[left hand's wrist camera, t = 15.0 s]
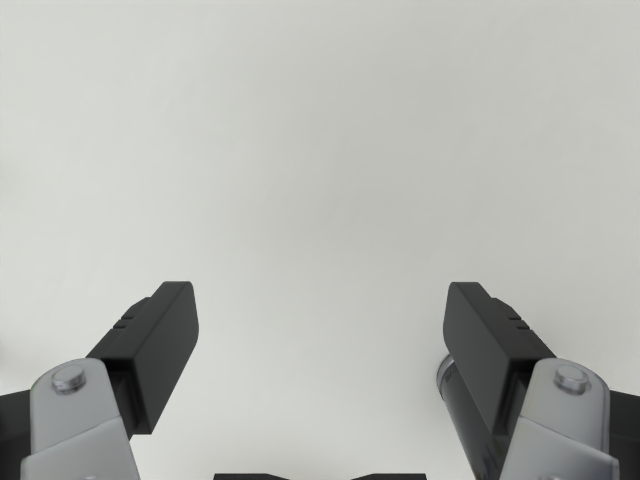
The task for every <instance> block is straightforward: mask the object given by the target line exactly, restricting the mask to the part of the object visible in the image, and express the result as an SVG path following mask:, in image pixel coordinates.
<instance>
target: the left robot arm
mask: <svg viewBox="0 0 640 480" xmlns="http://www.w3.org/2000/svg"><path fill="white" fill-rule="evenodd" d="M198 333H199V324H198V317H197V310H196V303H195V297H194V290H193V286H192V284H191V282H189V281H166V282H163V283H162V284H161V286H160V287H159V288H158V289H157V290H156V292H155V293H154V294H153V295H152V296H151V297H146V298H144V299H142V300H141V301H139V302H137V303H136V304H134V305H133V306H131V307H130V308H129V309H128V310H127V311H126V313H125V314H124V315H123V316H122V317H121V320H118V321H117V323H116V324H115V325H114V326H113V329H110V330H109V332H108V333H107V334H106V335H105V336H104V337H103V338H102V339H101V340H100V342H99V343H98V344H97V345H96V346H95V347H94V348H93V349H92V351H91V352H90V353H89V354H88V355H87V356H86V357H85V358H82V359H76V360H72V361H69V362H66V363H63V364H60V365H58V366H56V367H54V368H52V369H51V370H49V371H47V372H46V373H45V374H43V375H42V376H41V377H40V378H39V379H38V380H37V381H36V382H35V383H34V384H33V386H32V388H31V389H30V390H25V391H21V392H16V393H11V394H7V395H2V396H0V480H141V479H140V476H139V473H138V469H137V466H136V463H135V460H134V456H133V453H132V450H131V446H130V443H129V441H130V439H131V437H132V436H133V434H152V432H153V430H154V428H155V426H156V424H157V422H158V420H159V418H160V416H161V414H162V412H163V410H164V408H165V406H166V404H167V402H168V400H169V398H170V396H171V394H172V392H173V390H174V388H175V386H176V384H177V382H178V380H179V378H180V376H181V374H182V372H183V370H184V368H185V365H186V363H187V361H188V359H189V357H190V355H191V353H192V351H193V349H194V347H195V345H196V343H197V339H198ZM443 335H444V341H445V344H446V346H447V348H448V350H449V352H450V354H451V355H449V356H448V357H447V358H446V359H445V361H444V362H443V363H442V365H441V367H440V369H439V371H438V375H437V386H438V389H439V392H440V394H441V397H442V399H443V400H444V402H445V404H446V407H447V409H448V412H449V414H450V417H451V419H452V422H453V424H454V427H455V429H456V432H457V434H458V437H459V439H460V442H461V444H462V447H463V449H464V452H465V454H466V457H467V459H468V462H469V464H470V467H471V469H472V472H473V474H474V477H475V479H476V480H640V396H635V395H631V394H626V393H621V392H617V391H612V390H609V388H608V386H607V384H606V383H605V382H604V381H603V380H602V379H601V378H600V377H599V376H598V375H597V374H595V373H594V372H593V371H591V370H589V369H588V368H586V367H584V366H582V365H580V364H577V363H574V362H571V361H568V360H564V359H558V358H557V357H556V356H555V355H554V354H553V353H552V352H551V350H550V349H549V348H548V347H547V346H546V345H545V344H544V343H543V342H542V340H541V339H540V338H539V337H538V336H537V335H536V334H535V333H534V332H533V331H532V330H530V327H529V326H528V325H527V324H526V323H525V322H524V321H523V320H521V317H520V316H519V315H518V314H517V313H516V312H515V311H514V309H513V308H512V307H510V306H509V305H507V304H505V303H504V302H502V301H500V300H499V299H497V298H491V297H490V296H489V294H488V293H487V292H486V291H485V290H484V288H483V287H482V286H481V285H480V284H479V283H478V282H452V283H451V284H450V286H449V290H448V297H447V303H446V310H445V317H444V323H443ZM213 480H288V479H285V478H281V477H277V476H274V475H270V474H215V475H214V478H213ZM352 480H427V478H426V475H425V474H370V475H366V476H363V477H359V478H355V479H352Z"/></svg>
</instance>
